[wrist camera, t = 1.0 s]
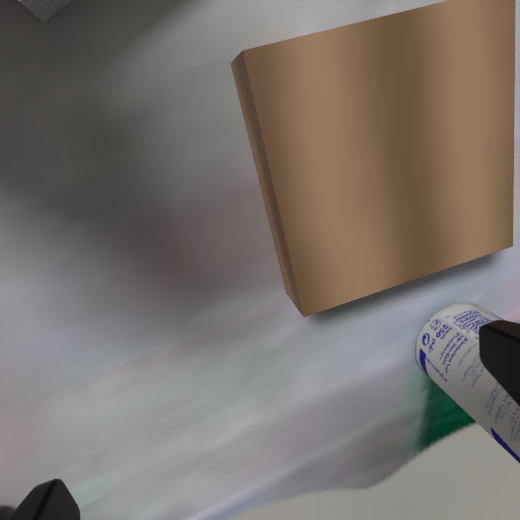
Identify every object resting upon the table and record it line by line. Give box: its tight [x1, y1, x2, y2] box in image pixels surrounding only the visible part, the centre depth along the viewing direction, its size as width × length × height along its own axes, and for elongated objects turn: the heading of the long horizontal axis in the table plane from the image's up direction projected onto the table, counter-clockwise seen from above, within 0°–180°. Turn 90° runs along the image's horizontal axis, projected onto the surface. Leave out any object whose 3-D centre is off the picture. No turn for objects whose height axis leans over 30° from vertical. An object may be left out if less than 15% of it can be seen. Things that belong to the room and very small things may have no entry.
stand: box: [231, 0, 515, 317], centre depth 19 cm, size 12×12×3 cm
